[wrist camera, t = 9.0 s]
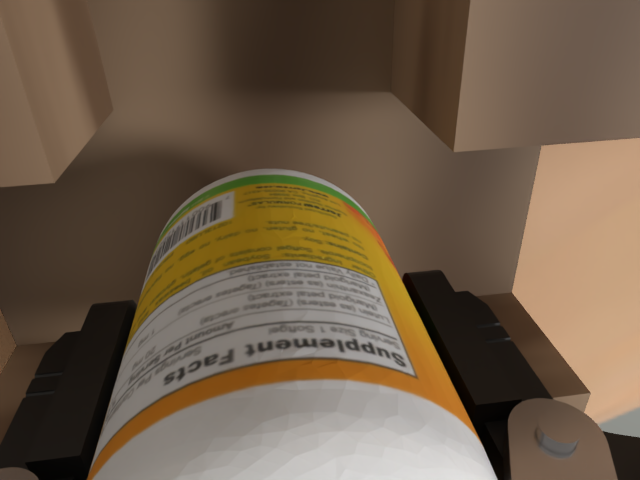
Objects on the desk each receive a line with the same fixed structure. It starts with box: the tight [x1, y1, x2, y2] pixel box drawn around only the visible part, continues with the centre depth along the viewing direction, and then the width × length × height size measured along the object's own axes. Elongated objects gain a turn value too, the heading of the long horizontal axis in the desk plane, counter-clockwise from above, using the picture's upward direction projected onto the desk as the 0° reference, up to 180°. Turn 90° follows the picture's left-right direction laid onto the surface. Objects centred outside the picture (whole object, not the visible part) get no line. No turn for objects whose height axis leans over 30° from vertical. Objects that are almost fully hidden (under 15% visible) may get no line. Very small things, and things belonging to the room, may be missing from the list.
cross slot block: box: [0, 0, 640, 444], centre depth 13 cm, size 16×16×6 cm
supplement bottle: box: [87, 169, 498, 480], centre depth 8 cm, size 5×5×10 cm
